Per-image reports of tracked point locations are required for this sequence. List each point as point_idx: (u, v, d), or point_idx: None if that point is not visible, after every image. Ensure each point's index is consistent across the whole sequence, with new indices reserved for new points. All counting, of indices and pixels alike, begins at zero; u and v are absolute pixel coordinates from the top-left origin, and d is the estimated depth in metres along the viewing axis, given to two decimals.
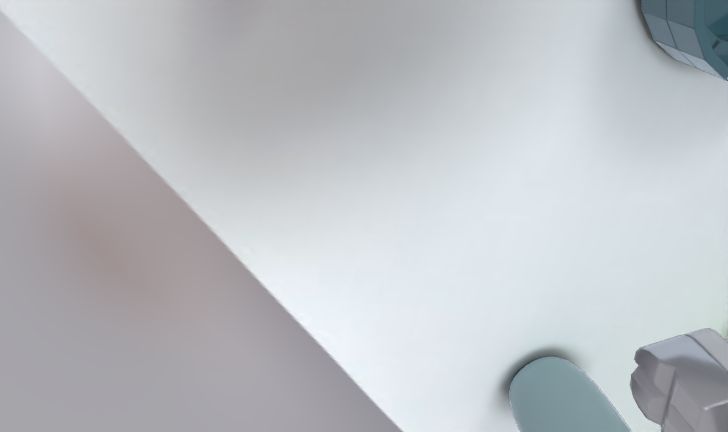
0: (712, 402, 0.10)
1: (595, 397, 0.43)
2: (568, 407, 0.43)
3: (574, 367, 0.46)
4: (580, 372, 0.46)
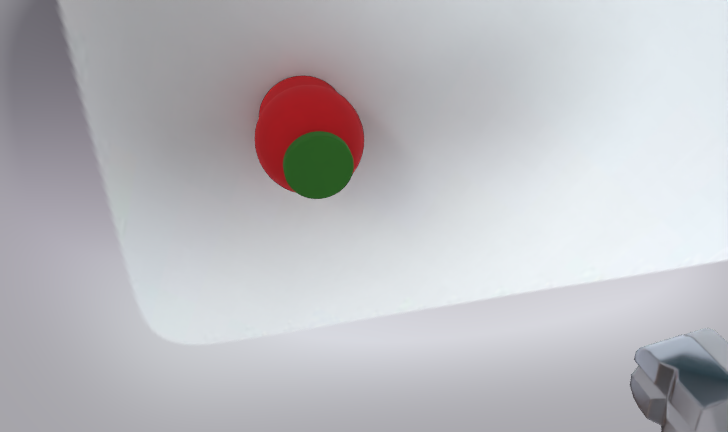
0: (712, 402, 0.10)
1: None
2: None
3: None
4: None
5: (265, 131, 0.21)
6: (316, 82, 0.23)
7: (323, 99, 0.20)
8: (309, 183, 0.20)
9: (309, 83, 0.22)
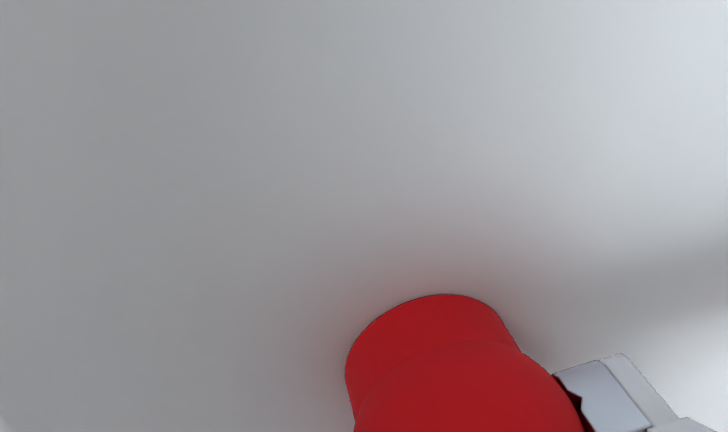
0: None
1: None
2: None
3: None
4: None
5: None
6: (472, 318, 0.11)
7: (527, 418, 0.09)
8: None
9: (462, 328, 0.11)
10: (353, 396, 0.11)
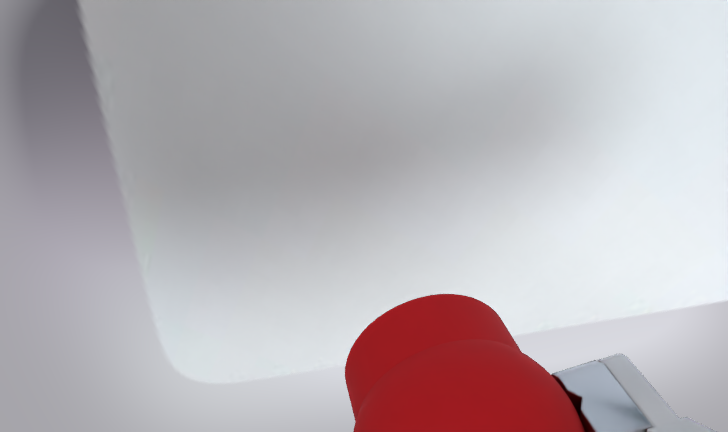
0: None
1: None
2: None
3: None
4: None
5: None
6: (472, 318, 0.11)
7: (527, 417, 0.09)
8: None
9: (462, 328, 0.11)
10: (353, 396, 0.11)
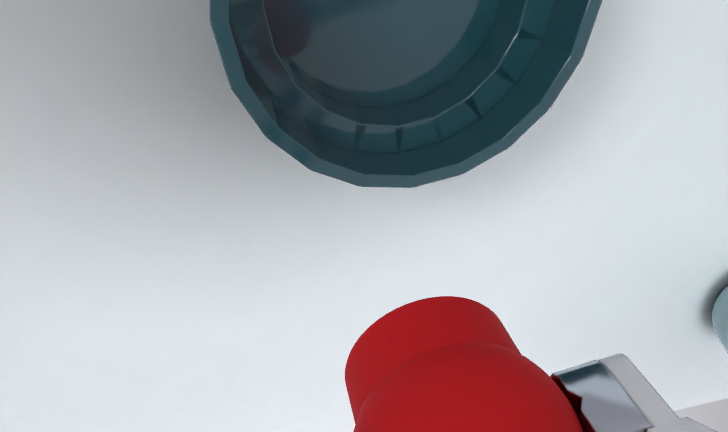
0: None
1: None
2: None
3: None
4: None
5: None
6: (472, 320, 0.11)
7: (526, 420, 0.09)
8: None
9: (462, 330, 0.11)
10: (353, 398, 0.11)
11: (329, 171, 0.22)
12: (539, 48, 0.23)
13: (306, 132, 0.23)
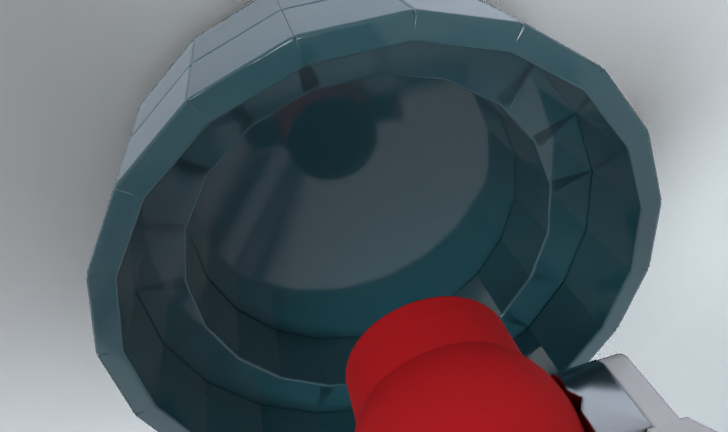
0: None
1: None
2: None
3: None
4: None
5: None
6: (473, 320, 0.11)
7: (528, 420, 0.09)
8: None
9: (463, 330, 0.11)
10: (354, 398, 0.11)
11: None
12: (559, 291, 0.18)
13: (254, 402, 0.17)
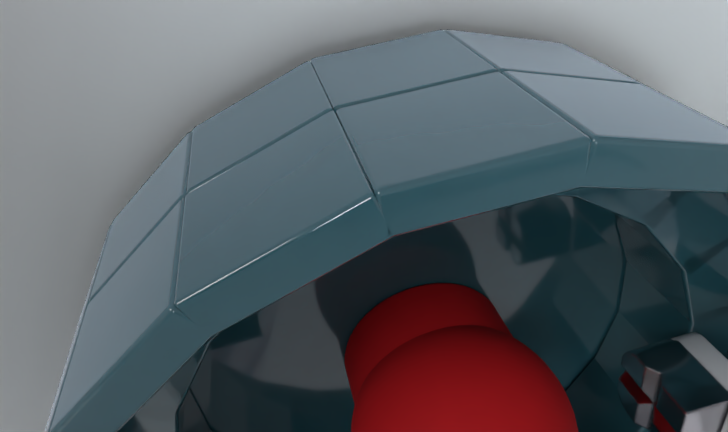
0: (697, 407, 0.10)
1: None
2: None
3: None
4: None
5: None
6: (467, 305, 0.11)
7: (518, 396, 0.09)
8: None
9: (457, 314, 0.11)
10: (352, 380, 0.12)
11: None
12: None
13: None
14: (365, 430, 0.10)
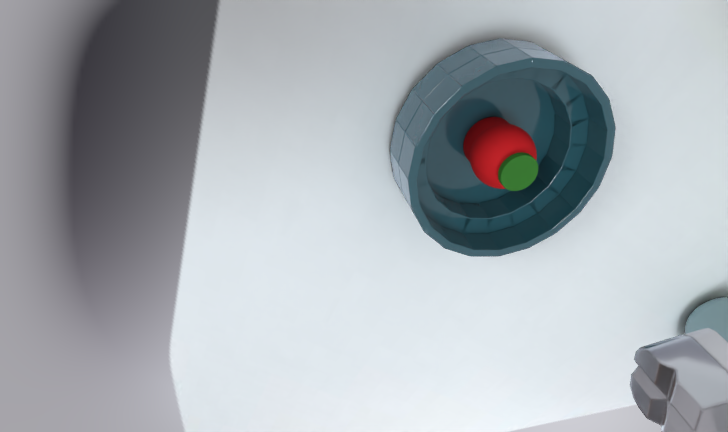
0: (712, 402, 0.10)
1: None
2: None
3: (715, 313, 0.53)
4: (722, 315, 0.52)
5: (485, 152, 0.35)
6: (503, 121, 0.38)
7: (519, 133, 0.35)
8: (512, 182, 0.35)
9: (501, 122, 0.37)
10: (468, 145, 0.38)
11: (454, 248, 0.38)
12: (574, 175, 0.40)
13: (437, 223, 0.39)
14: (477, 147, 0.36)
